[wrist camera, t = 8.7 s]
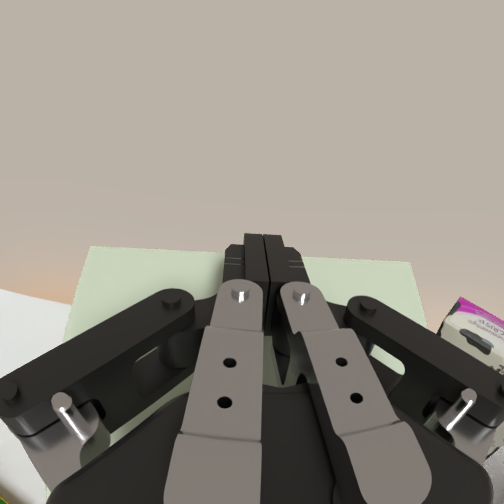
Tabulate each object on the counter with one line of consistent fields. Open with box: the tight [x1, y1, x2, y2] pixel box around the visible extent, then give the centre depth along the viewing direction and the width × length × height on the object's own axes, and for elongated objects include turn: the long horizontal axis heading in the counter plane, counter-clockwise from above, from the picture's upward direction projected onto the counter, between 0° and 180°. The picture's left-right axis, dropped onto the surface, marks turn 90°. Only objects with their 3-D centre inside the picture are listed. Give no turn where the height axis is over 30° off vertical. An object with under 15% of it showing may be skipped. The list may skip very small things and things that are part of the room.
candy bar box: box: [436, 297, 504, 460], centre depth 18 cm, size 11×5×16 cm, turn 38°
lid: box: [46, 246, 428, 502], centre depth 10 cm, size 17×17×1 cm
